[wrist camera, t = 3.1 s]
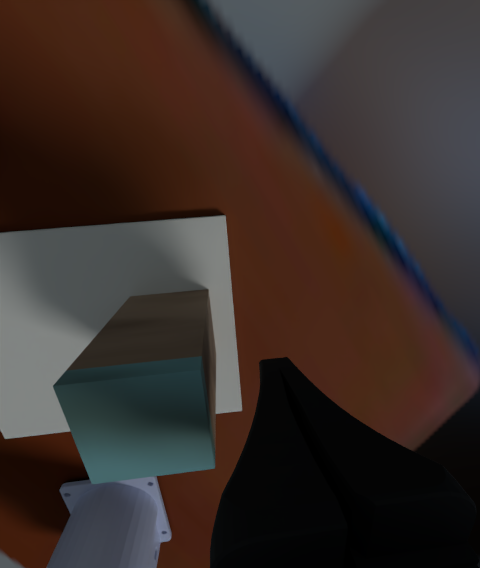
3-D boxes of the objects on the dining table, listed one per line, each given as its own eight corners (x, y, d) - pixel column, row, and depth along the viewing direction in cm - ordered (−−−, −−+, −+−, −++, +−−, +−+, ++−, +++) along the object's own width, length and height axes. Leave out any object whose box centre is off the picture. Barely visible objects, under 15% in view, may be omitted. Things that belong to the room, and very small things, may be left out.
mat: (241, 404, 21) (242, 410, 20) (11, 431, 20) (5, 439, 19) (225, 214, 15) (225, 215, 15) (-88, 239, 14) (-100, 241, 14)
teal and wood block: (216, 354, 18) (214, 468, 11) (145, 361, 18) (92, 484, 10) (208, 289, 16) (200, 369, 9) (130, 296, 16) (52, 386, 9)
